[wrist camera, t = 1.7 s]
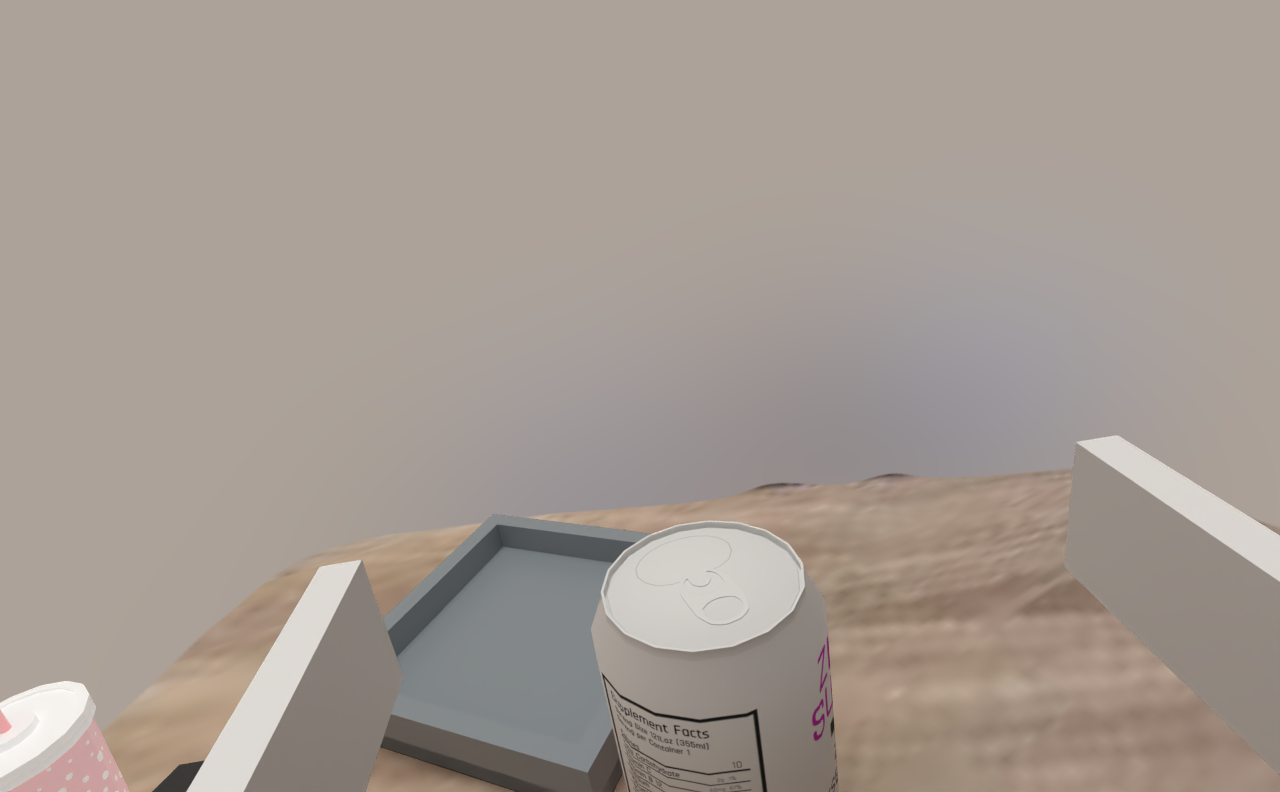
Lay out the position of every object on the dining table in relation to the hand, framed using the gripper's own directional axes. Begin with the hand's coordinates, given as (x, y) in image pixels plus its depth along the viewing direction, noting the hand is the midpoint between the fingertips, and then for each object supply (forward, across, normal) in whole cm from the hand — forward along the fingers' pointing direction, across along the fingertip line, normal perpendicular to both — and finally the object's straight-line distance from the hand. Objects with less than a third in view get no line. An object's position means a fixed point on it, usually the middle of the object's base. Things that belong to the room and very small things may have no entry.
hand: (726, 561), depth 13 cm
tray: (+25, -10, -22) cm, 35 cm away
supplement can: (+9, 0, -22) cm, 24 cm away
